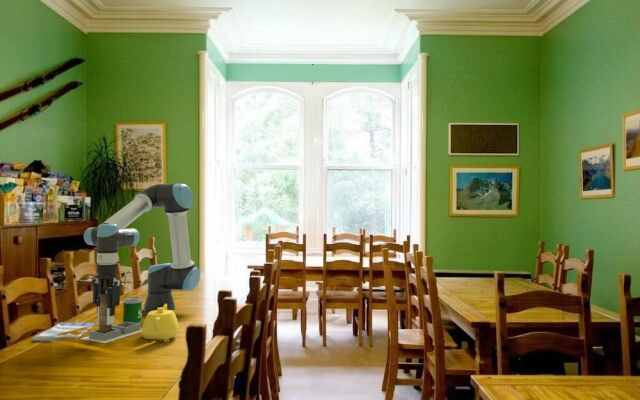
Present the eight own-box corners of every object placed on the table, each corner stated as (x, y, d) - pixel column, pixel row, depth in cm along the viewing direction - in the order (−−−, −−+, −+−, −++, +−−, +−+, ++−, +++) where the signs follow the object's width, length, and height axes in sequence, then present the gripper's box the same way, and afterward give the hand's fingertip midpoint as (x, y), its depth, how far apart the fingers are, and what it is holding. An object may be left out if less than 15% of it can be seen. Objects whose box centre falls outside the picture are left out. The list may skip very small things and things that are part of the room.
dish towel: (30, 343, 173) (30, 335, 173) (60, 327, 197) (60, 320, 197) (77, 342, 175) (77, 335, 175) (101, 327, 198) (101, 320, 198)
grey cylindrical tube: (106, 329, 181) (107, 292, 181) (115, 331, 178) (116, 293, 179) (94, 332, 176) (95, 294, 176) (104, 334, 174) (105, 295, 174)
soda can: (134, 328, 195) (135, 300, 195) (119, 327, 197) (119, 299, 197) (144, 324, 202) (145, 297, 203) (129, 322, 204) (130, 296, 204)
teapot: (181, 331, 191) (182, 302, 191) (173, 345, 171) (174, 312, 171) (148, 332, 189) (149, 302, 189) (136, 346, 169) (137, 313, 169)
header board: (125, 328, 194) (125, 319, 194) (148, 332, 189) (148, 323, 189) (79, 341, 174) (80, 331, 174) (104, 346, 169) (104, 336, 169)
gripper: (83, 263, 178) (81, 322, 177) (115, 265, 171) (113, 328, 170) (99, 261, 185) (97, 318, 184) (131, 263, 178) (129, 323, 177)
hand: (105, 323), depth 177 cm, fingers closed on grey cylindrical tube, 4 cm apart
